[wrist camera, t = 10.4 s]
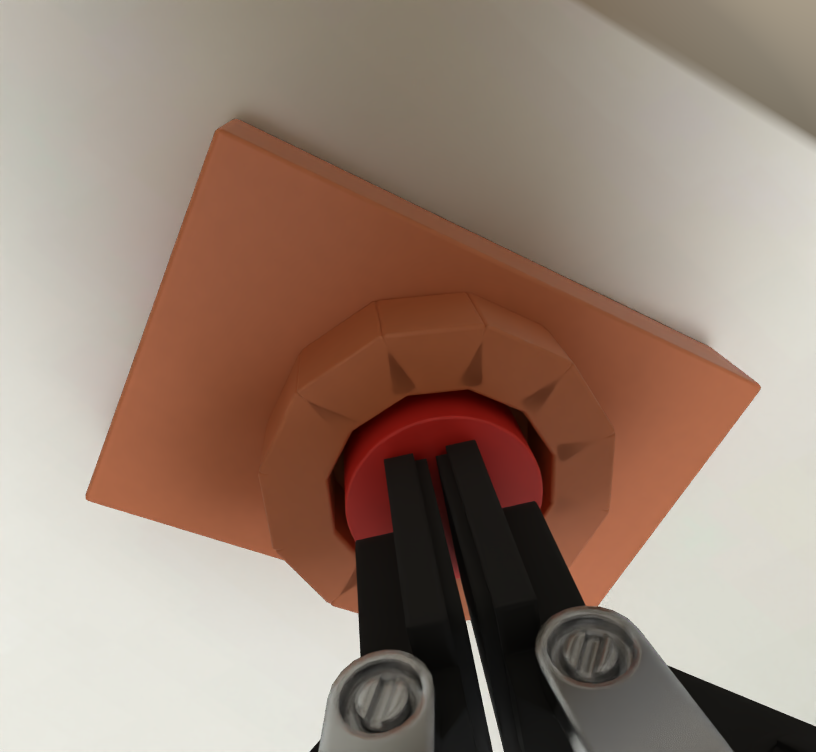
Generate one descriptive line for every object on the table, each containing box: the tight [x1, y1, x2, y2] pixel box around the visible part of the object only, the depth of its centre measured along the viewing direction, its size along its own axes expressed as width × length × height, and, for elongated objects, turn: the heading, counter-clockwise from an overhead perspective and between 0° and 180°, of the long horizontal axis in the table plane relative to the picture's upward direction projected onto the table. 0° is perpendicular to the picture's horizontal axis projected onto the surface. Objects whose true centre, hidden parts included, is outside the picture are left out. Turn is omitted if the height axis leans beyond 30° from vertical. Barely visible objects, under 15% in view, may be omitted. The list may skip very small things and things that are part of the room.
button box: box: [86, 119, 761, 620], centre depth 14 cm, size 12×8×4 cm, turn 64°
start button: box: [344, 389, 543, 579], centre depth 13 cm, size 4×4×2 cm
